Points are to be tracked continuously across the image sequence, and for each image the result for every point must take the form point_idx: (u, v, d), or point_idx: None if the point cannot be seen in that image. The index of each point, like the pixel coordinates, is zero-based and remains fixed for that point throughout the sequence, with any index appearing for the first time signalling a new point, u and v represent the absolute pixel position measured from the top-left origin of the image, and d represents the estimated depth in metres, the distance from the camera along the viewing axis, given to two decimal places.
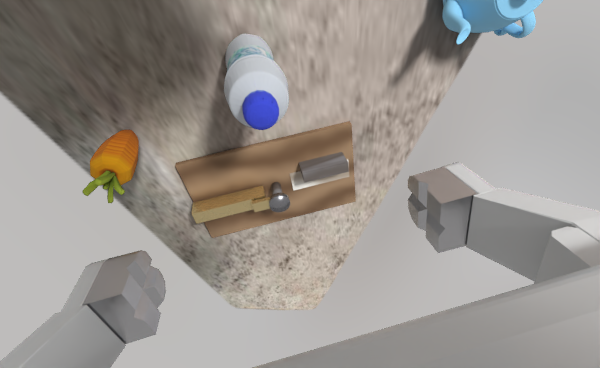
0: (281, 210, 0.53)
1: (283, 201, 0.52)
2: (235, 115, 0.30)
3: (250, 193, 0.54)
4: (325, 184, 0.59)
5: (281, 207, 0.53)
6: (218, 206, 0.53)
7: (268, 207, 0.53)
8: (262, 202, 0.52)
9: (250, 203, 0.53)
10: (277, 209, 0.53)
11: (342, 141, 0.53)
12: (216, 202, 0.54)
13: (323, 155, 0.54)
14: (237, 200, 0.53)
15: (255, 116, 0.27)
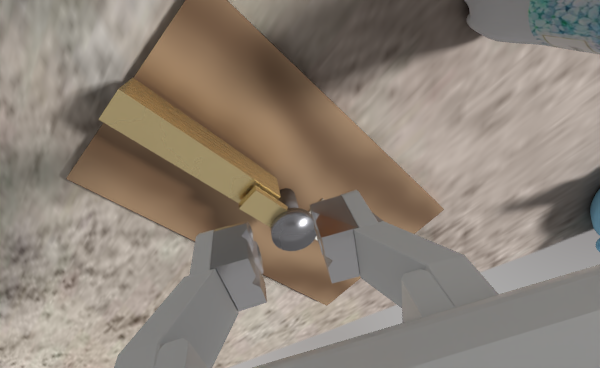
0: (282, 245, 0.24)
1: (304, 233, 0.24)
2: None
3: (255, 170, 0.24)
4: None
5: (289, 241, 0.24)
6: (188, 133, 0.20)
7: (267, 221, 0.24)
8: (272, 204, 0.23)
9: (245, 186, 0.23)
10: (281, 238, 0.24)
11: (413, 220, 0.33)
12: (186, 124, 0.21)
13: (379, 216, 0.32)
14: (229, 158, 0.22)
15: None
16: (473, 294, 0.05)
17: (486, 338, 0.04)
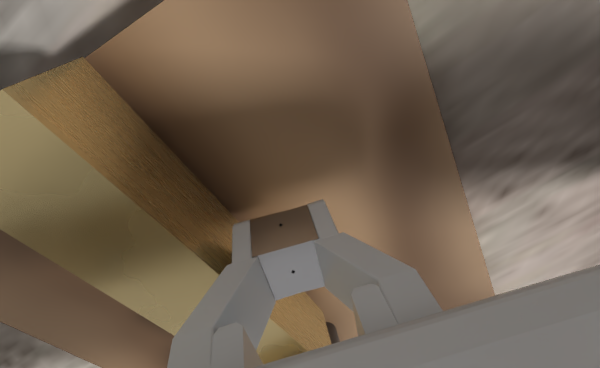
0: None
1: None
2: None
3: (302, 312, 0.12)
4: None
5: None
6: (198, 248, 0.07)
7: None
8: None
9: None
10: None
11: None
12: (195, 211, 0.08)
13: None
14: None
15: None
16: (417, 310, 0.05)
17: (486, 338, 0.04)
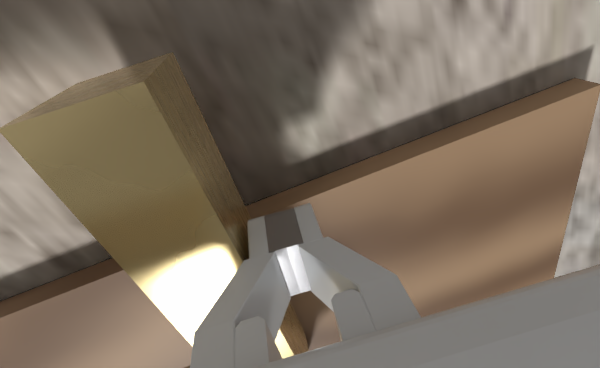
0: None
1: None
2: None
3: (296, 332, 0.12)
4: None
5: None
6: (245, 259, 0.08)
7: None
8: None
9: None
10: None
11: None
12: (239, 221, 0.08)
13: None
14: None
15: None
16: (396, 317, 0.05)
17: (486, 338, 0.04)
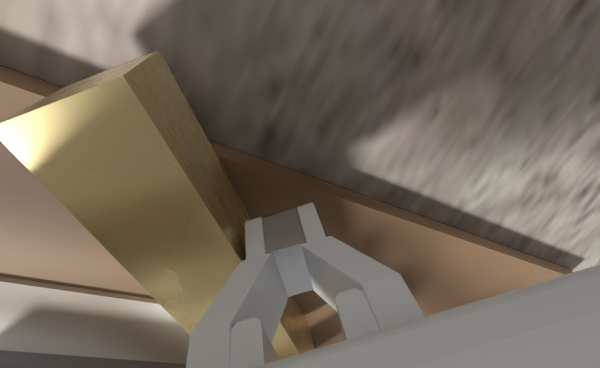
0: None
1: None
2: None
3: (299, 324, 0.12)
4: (114, 281, 0.12)
5: None
6: (238, 250, 0.08)
7: None
8: None
9: None
10: None
11: None
12: (233, 214, 0.09)
13: None
14: None
15: None
16: (400, 316, 0.05)
17: (486, 338, 0.04)
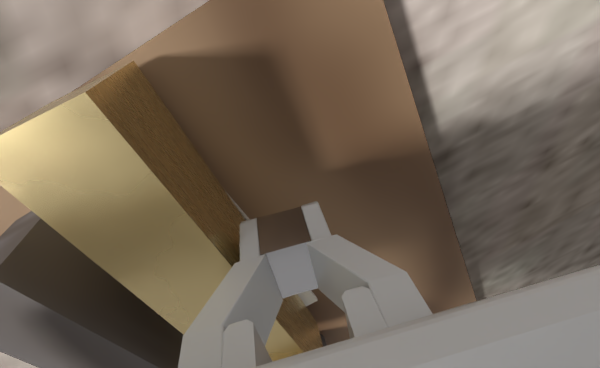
0: None
1: None
2: None
3: (303, 322, 0.12)
4: (255, 200, 0.11)
5: None
6: (228, 254, 0.08)
7: None
8: None
9: None
10: None
11: None
12: (222, 218, 0.09)
13: None
14: (280, 309, 0.10)
15: None
16: (408, 313, 0.05)
17: (486, 338, 0.04)
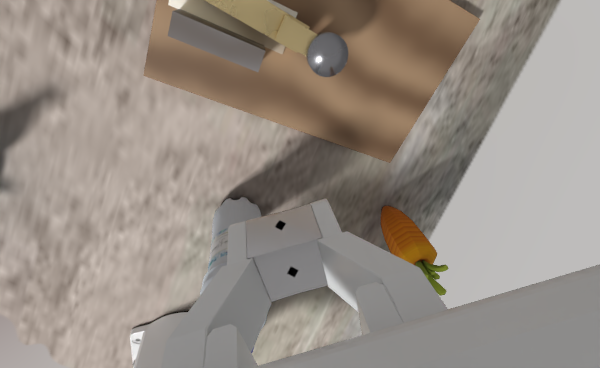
0: (320, 71, 0.27)
1: (337, 54, 0.27)
2: None
3: None
4: None
5: (325, 64, 0.27)
6: None
7: (302, 50, 0.27)
8: (303, 29, 0.26)
9: (277, 20, 0.26)
10: (317, 62, 0.27)
11: (168, 52, 0.29)
12: None
13: None
14: None
15: None
16: (423, 309, 0.05)
17: (486, 338, 0.04)
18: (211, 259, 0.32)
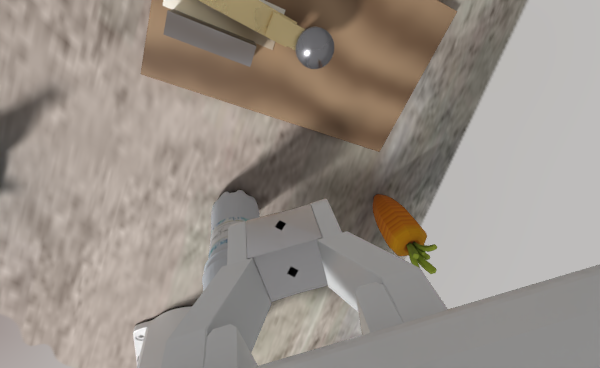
0: (308, 63, 0.29)
1: (324, 47, 0.28)
2: None
3: None
4: None
5: (313, 57, 0.29)
6: None
7: (291, 44, 0.29)
8: (291, 24, 0.28)
9: (266, 17, 0.28)
10: (305, 55, 0.29)
11: (163, 51, 0.31)
12: None
13: None
14: None
15: None
16: (423, 309, 0.05)
17: (486, 338, 0.04)
18: (211, 247, 0.33)
